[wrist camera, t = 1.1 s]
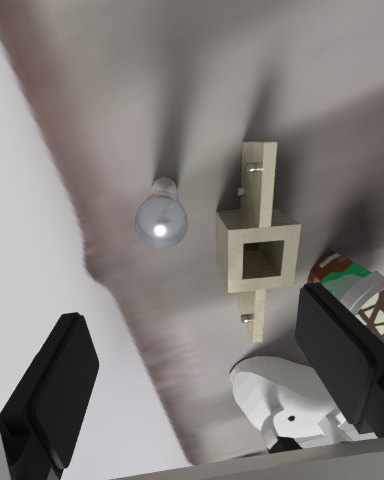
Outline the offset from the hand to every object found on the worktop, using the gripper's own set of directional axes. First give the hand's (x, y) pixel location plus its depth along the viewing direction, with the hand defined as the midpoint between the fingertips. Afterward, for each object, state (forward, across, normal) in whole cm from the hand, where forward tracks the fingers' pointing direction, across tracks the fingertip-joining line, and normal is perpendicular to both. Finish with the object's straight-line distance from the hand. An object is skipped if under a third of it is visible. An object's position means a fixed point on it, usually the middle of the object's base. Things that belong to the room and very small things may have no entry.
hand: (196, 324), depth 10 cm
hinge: (+21, -8, +5) cm, 23 cm away
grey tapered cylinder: (+21, +2, -2) cm, 21 cm away
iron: (+22, -16, +36) cm, 45 cm away
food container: (+21, -20, +15) cm, 33 cm away
